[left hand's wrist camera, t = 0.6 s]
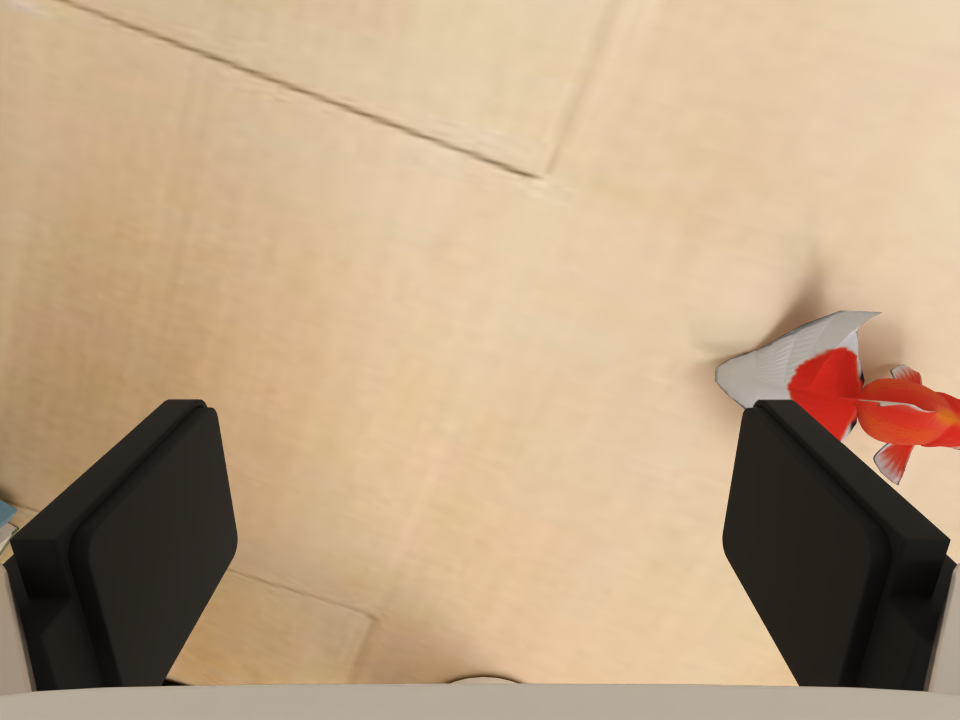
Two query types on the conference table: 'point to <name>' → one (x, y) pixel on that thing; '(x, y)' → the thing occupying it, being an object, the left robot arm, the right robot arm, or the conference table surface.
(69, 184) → the conference table surface
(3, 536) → the cabinet
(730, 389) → the fish
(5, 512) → the drawer
